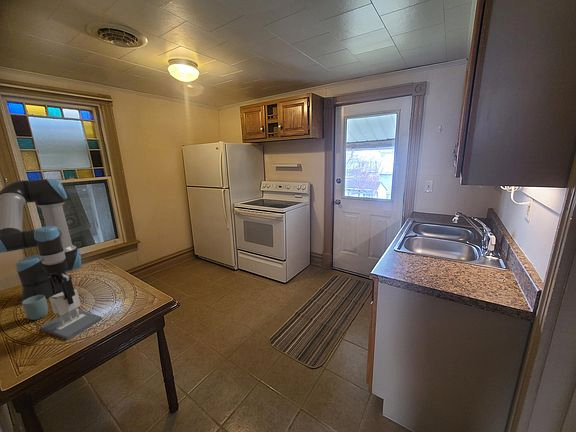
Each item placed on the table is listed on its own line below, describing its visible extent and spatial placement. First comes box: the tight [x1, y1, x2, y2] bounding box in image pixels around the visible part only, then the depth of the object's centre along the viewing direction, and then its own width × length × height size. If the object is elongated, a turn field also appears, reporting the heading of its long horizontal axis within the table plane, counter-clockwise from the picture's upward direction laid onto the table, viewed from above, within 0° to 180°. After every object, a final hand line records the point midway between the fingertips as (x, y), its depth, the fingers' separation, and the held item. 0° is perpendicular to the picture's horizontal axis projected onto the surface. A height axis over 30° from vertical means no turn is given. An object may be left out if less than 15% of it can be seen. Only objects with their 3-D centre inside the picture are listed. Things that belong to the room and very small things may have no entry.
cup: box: [21, 295, 49, 321], centre depth 117 cm, size 8×8×10 cm
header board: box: [39, 308, 103, 341], centre depth 112 cm, size 20×14×6 cm
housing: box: [48, 288, 82, 316], centre depth 109 cm, size 5×8×8 cm, turn 160°
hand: (67, 308), depth 110 cm, fingers closed on housing, 5 cm apart
